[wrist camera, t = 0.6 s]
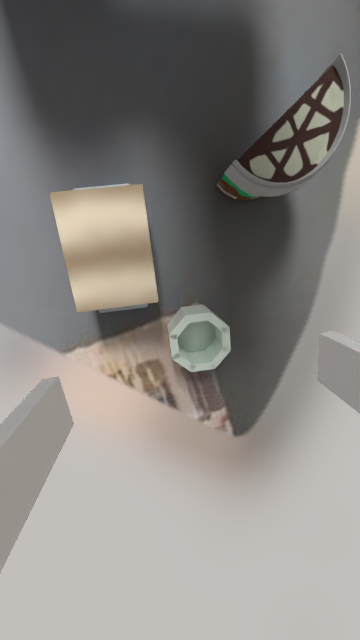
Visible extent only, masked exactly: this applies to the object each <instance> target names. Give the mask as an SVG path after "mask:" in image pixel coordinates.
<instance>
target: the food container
mask: <svg viewBox="0 0 360 640" xmlns="http://www.w3.org/2000/svg"><path fill="white" fill-rule="evenodd" d="M350 104H351V86H350V79H349V73H348V70H347V66H346V63H345V61H344V58H343V56H342V53H341V54H340V55H339V56H338V57H337V59H336V60H335V61H334V62H333V63H332V64H331V65H330V66H329V67H328V68H327V70H326V71H325V72H324V73H323V74H322V75H321V76H320V77H319V78H318V79H317V81H316V82H315V83H314V84H313V85H312V86H311V87H310V88H309V89H308V90H307V91H306V92H305V93H304V95H303V96H302V97H301V98H300V99H299V100H298V101H297V102H296V103H295V104H294V105H293V106H292V107H291V108H290V109H288V110H287V111H286V113H285V114H284V115H283V116H282V117H281V118H280V119H279V120H278V121H277V122H276V123H274V124H273V126H272V127H271V128H270V129H269V130H268V131H267V132H266V133H265V134H264V135H262V136H261V137H260V138H259V139H258V140H257V141H256V142H255V143H254V144H253V145H252V146H251V147H250V148H249V149H248V150H247V151H246V152H245V153H244V154H243V156H242V157H241V158H240V159H239V160H238V161H237V160H235V161H234V162H233V163H232V164H231V165H230V166H229V168H228V169H227V170H226V171H225V172H224V175H223V177H222V178H221V179H220V181H219V182H218V183H217V185H216V186H215V187H216V188H217V189H218V190H219V191H220V192H221V193H222V194H224V195H226V196H227V197H229V198H231V199H233V200H238V201H249V200H254V199H257V198H259V197H262V196H265V197H270V196H280V195H285V194H287V193H290V192H293V191H295V190H297V189H298V188H300V187H302V186H303V185H304V184H306V183H307V182H308V181H309V180H311V179H312V178H313V177H314V176H315V175H316V174H317V173H318V172H319V171H320V170H321V169H322V168H323V167H324V165H325V164H326V163H327V162H328V160H329V159H330V158H331V156H332V155H333V153H334V151H335V150H336V148H337V146H338V144H339V142H340V140H341V138H342V136H343V134H344V131H345V128H346V125H347V121H348V117H349V112H350Z"/></svg>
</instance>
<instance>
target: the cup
mask: <svg viewBox="0 0 360 640" xmlns="http://www.w3.org/2000/svg"><path fill="white" fill-rule="evenodd" d="M167 327H168V334H169V342H170V350H171V357H172V359H173V360H174V361H176V362H177V363H179V364H180V365H181V366H183V367H184V368H186V369H187V370H189V371H190V372H196V371H203V370H210V369H215V368H216V367H217V366H218V365H219V364H220V362H221V361H222V360H223V359H224V358H225V357H226V356H227V354H228V353H229V352H230V351H231V345H230V327H229V326H228V325H227V324H226V323H225V322H224V321H223V320H222V319H221V318H220V317H218V316H217V315H216V314H214V313H213V312H212V311H211V310H209V309H208V308H207V307H206V306H204V305H203V304H201V305H194V306H186V307H181V308H180V309H179V310H178V311H177V313H176V314H175V315H174V316H173V318H172V319H171V320H170V321H169V323H168V324H167Z"/></svg>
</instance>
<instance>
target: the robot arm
mask: <svg viewBox="0 0 360 640" xmlns="http://www.w3.org/2000/svg"><path fill="white" fill-rule="evenodd" d="M318 356H319V357H318V381H319V382H320V383H321V384H323V385H324V386H325V387H327V388H328V389H329V390H330V391H332V392H333V393H334V394H336V395H337V396H338V397H340V398H341V399H342V400H343V401H345V402H346V403H347V404H348V405H350V406H351V407H352V408H353V409H355V410H356V411H357V412H359V413H360V342H359V341H356V340H354V339H352V338H349V337H347V336H345V335H342V334H340V333H337V332H335V331H329V332H323V333H319V355H318ZM73 424H74V423H73V421H72V417H71V414H70V411H69V408H68V405H67V401H66V398H65V395H64V392H63V389H62V386H61V383H60V379H59V377H53V378H47V379H42V380H41V381H40V382H39V384H38V385H37V386H36V387H35V388H34V389H33V390H32V391H31V392H30V393H29V394H28V395H27V396H26V398H25V399H24V400H23V401H22V402H21V403H20V404H19V405H18V406H17V407H16V408H15V410H14V411H13V412H12V413H11V414H10V415H9V416H8V417H7V418H6V419H5V420H4V421H3V422H2V424H1V425H0V572H1V570H2V568H3V566H4V564H5V562H6V560H7V558H8V556H9V554H10V552H11V550H12V548H13V546H14V544H15V542H16V540H17V538H18V536H19V534H20V532H21V530H22V527H23V526H24V524H25V522H26V520H27V518H28V516H29V513H30V511H31V509H32V507H33V505H34V503H35V501H36V499H37V497H38V495H39V493H40V491H41V489H42V487H43V485H44V483H45V481H46V479H47V477H48V475H49V473H50V471H51V469H52V467H53V465H54V462H55V461H56V459H57V457H58V455H59V452H60V451H61V449H62V447H63V445H64V443H65V441H66V438H67V436H68V434H69V432H70V430H71V428H72V426H73Z"/></svg>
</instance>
